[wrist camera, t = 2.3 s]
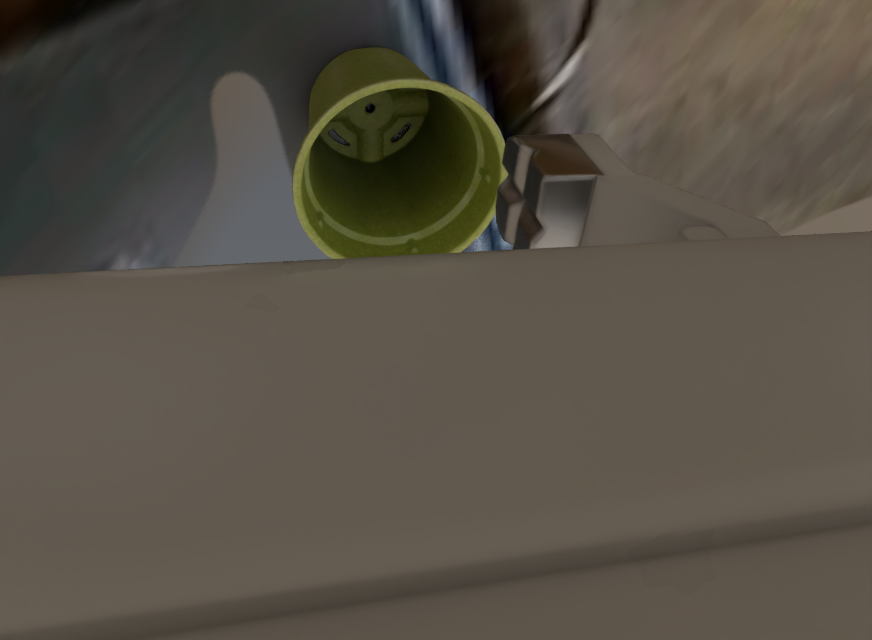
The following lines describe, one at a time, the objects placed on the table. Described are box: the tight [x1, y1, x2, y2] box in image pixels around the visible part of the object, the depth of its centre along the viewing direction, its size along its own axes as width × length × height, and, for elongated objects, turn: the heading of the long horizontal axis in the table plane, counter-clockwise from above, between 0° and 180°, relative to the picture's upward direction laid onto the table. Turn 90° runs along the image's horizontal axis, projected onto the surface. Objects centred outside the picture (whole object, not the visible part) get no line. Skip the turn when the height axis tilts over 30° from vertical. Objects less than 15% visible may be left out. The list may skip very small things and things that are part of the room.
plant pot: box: [292, 47, 508, 259], centre depth 38 cm, size 9×9×9 cm
